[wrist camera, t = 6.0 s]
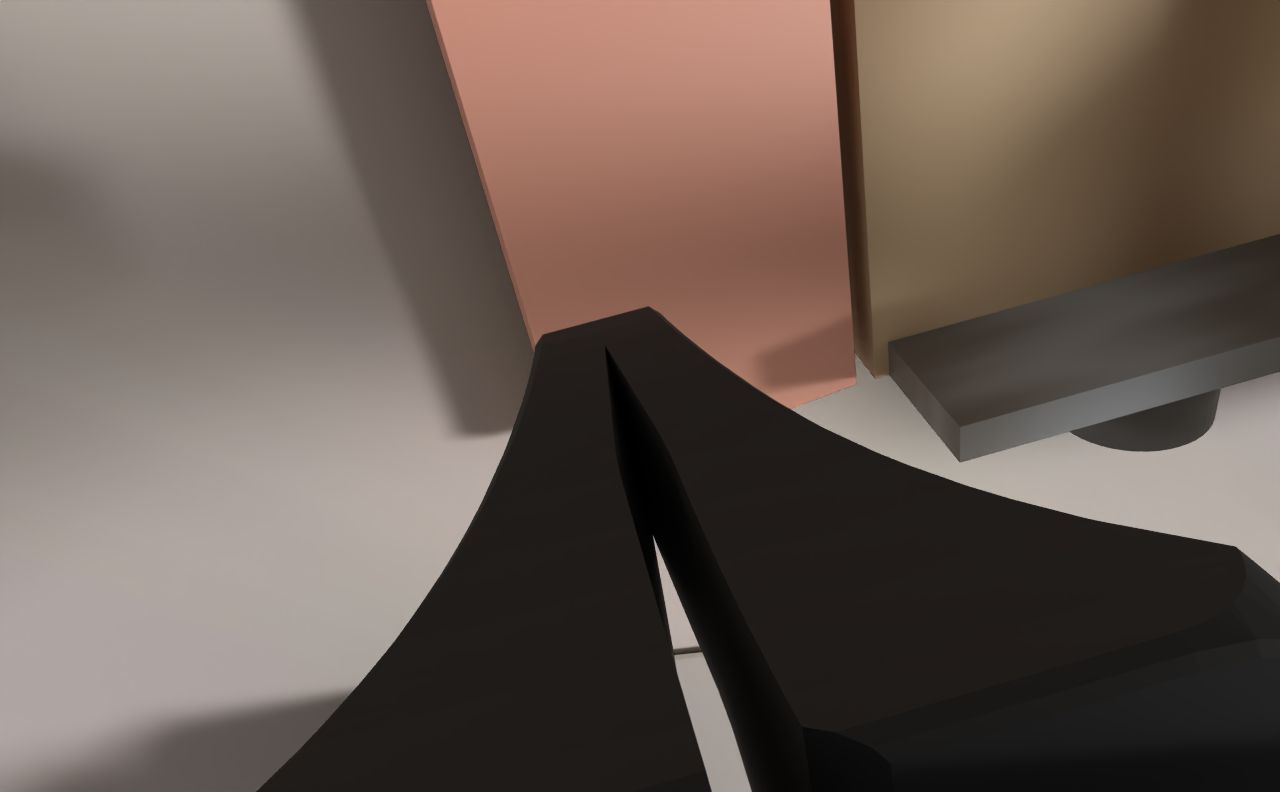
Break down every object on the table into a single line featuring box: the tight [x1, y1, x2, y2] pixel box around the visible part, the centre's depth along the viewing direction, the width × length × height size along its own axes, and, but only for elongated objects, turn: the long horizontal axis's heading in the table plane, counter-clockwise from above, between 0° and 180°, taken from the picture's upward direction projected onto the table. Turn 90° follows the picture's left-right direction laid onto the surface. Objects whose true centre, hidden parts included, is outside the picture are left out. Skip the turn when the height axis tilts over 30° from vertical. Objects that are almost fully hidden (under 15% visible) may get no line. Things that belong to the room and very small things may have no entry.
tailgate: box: [426, 0, 857, 409], centre depth 16 cm, size 1×11×6 cm
